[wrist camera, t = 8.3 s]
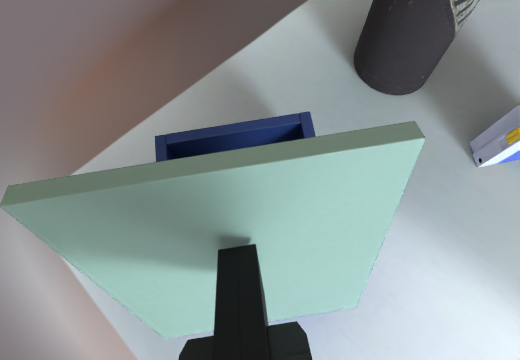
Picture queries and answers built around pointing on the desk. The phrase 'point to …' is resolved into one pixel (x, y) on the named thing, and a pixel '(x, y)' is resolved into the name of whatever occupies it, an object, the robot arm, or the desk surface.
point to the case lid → (229, 223)
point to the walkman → (499, 141)
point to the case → (234, 136)
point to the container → (407, 41)
